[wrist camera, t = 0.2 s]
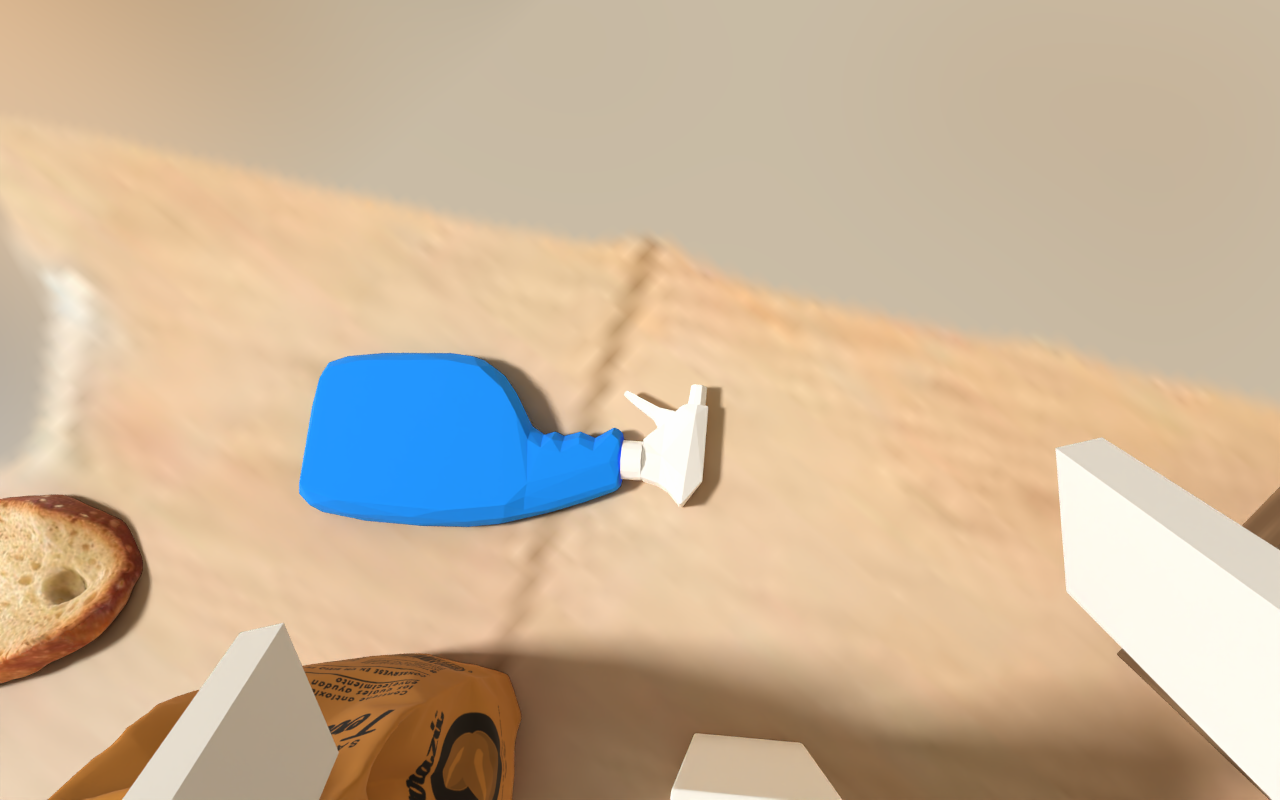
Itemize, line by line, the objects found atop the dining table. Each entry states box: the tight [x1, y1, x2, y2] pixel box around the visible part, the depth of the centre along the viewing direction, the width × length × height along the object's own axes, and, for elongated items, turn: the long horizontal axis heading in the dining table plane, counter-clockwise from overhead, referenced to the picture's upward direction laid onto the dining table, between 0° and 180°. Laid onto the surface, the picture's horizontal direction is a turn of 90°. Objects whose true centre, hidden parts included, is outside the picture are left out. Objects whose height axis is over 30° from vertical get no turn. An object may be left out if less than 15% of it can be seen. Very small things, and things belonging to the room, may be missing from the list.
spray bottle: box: [299, 353, 708, 527], centre depth 52 cm, size 3×11×24 cm
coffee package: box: [48, 654, 521, 800], centre depth 38 cm, size 10×12×22 cm
